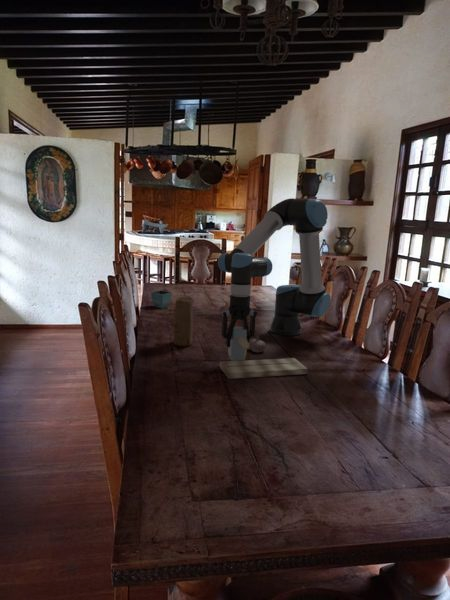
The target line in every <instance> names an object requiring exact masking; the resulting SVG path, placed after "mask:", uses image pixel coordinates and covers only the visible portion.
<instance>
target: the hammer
mask: <svg viewBox="0 0 450 600" xmlns="http://www.w3.org/2000/svg"><path fill="white" fill-rule="evenodd" d="M246 337H247V330H246V329H244V328H243V326H234V330H233V333H232V336H231V338H232V339H233V345H232V356H230V355H229V354H228V358H229V359H230V361H245V360H247V359H246V357H247V352H246V348H247V349H249V348H250V342H249V343H248V342H247V341H246Z"/></svg>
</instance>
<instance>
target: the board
mask: <svg viewBox="0 0 450 600" xmlns="http://www.w3.org/2000/svg"><path fill="white" fill-rule="evenodd" d="M219 368H220V370H221V371H222V372H223V374H224V375H225V376H226V377H227V379H245V378H246V379H247V378H261V377H262V378H263V377H264V378H265V377H275V376H276V377H277V376H278V377H279V376H295V375H308V371H309V370H308V367H306V366H305V365H304V364H302V363H301V362H300V361H299V360H298V359H296V358H295V357H287V358H270V359H269V358H268V359H251V360H249V359H248V360H247V359H245V361H232V360H227V361H219Z"/></svg>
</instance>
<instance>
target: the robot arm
mask: <svg viewBox="0 0 450 600" xmlns="http://www.w3.org/2000/svg"><path fill="white" fill-rule="evenodd" d="M328 213H329V212H328V209H327V206H326V204H325V203H324V201H323V200H321V199H318V198H317V199H315V198H294V197H293V198H285V199H284V200H282V201H280V202H278V203H276V204H274V206H272V207H270V208H269V209H268V210H267V211H266V212H265V214H264V215H263V219H262V220H261V221H260V222H259V223H257V225H256V226H255V227H254V228H253V229H252V230H251V231H250V232H249V233H248V234H247V235H246V236H245V237H244V238H243V239H242V240H241V241H240V242H239V243H238V244H237V245H236V246H235V248H234V249H233V250H232V251H230V253H228V252H226V253H225V252H224V253H221V254H220V255H219V257H218V259H217V266H218V269H219V270H220V271H221V272H225V273H229V274H231V275H230V291H229V292H230V296H229V307H228V309H227V310H221V316H222V321H221V336H222V338H224V339H226V341H225V345H226V347H227V350H228V351H227V354H228V356H229V355H230V356H232V345H233V339H232V338H231V336H232V333H233V330H234V327H236V323H237V321H239V320H241V323H242V327H243V328H244V329H246V330H247V337H246V341H247V342H248V343H249V344H250V339H251V338H253V337H255V335H256V334H255V332H256V317H257V314H258V312H257V311H256V310H254V309H251V307H250V306H251V296H250V295H251V293H252V292H251V290H252V288H251V287H252V278H253V279H255V278H263V277H266V276H269V275H270V274H271V273H272V271H273V263H272V261H271V259H270V258H268V257H267V256H259V257H258V256H254V255H255V254H256V253H257V252H258V251H259V250H260V249H261V247H262V246H264V244H265V243H266V242H267V241H268V240H269V239H270V238H271V237H272V236H273V235H274V234H275V233H276V232H277V231H280V230H281V229H283V228H284V227H286V226H293V227H294V229H295V233H296V234H297V235H299V237H298V239H299V254H300V256H299V257H300V268H301V269H300V271H301V284H302V285H300V284H283V285H282V284H281V285H279V286H277V288H276V291H275V301H274V302H275V305H274V307H275V308H274V317H273V318H272V321H271V324H270V328H269V331H270V332H271V333H272V334H275V335H280V336H288V337H289V336H297V335H300V334H302V326H301V322H300V315H304V316H310V317H312V318H322V317H324V316H326V315H327V312H328V310H329V308H330V305H331V299H332V298H331V295H330V294H329V293H328V292H326V286H325V285H323V283H322V269H321V249H320V248H321V247H320V246H321V245H320V242H321V241H320V233H321V232H323V227H325V225H326V224H327V223H328V221H327V220H328V217H329V214H328ZM299 314H300V315H299ZM229 315H231V316H230V320H229V321H230V322H229V325H228V317H229ZM248 315H250V317H249V319H250V320H249V325H248V319H247V317H248ZM247 349H248V348H246V353H247Z"/></svg>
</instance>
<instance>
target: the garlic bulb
mask: <svg viewBox="0 0 450 600" xmlns="http://www.w3.org/2000/svg"><path fill="white" fill-rule="evenodd" d="M256 334H257V335H256V338H253V339H251V341H249V348H250V349H251V351H252V352H254V353H264V351H265V350H266V343H265V341H263V340H261V339H260V335H261V332H257V333H256Z"/></svg>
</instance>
